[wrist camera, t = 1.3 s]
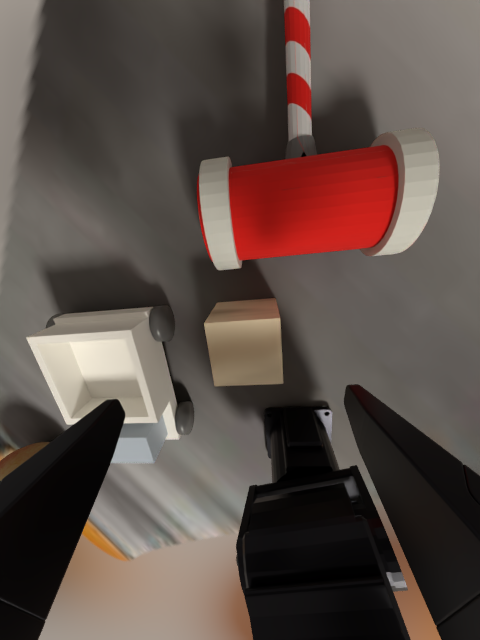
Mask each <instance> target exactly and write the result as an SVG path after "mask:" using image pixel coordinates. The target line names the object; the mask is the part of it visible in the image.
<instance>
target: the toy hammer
mask: <svg viewBox="0 0 480 640" xmlns="http://www.w3.org/2000/svg"><path fill="white" fill-rule="evenodd" d="M284 19H285V47H286V74H287V102H288V135H289V142H288V143H287V147H286V154H285V160H278V161H271V162H264V163H257V164H250V165H243V166H236V167H232V163H231V160H230V157H229V156H228V157H221V158H215V159H208V160H203V161H202V162H201V165H200V171H199V175H198V179H197V202H198V212H199V218H200V225H201V230H202V234H203V239H204V243H205V246H206V249H207V252H208V255H209V257H210V259H211V260H212V262H213V263H214V265H215V267H216V268H217V269H218V270H228V269H238V268H241V266H242V260H249V259H259V258H269V257H280V256H290V255H300V254H310V253H321V252H331V251H341V250H351V249H360V250H361V252H362V253H363V254H365V255H367V256H377V255H388V254H396V253H401V252H402V251H404V250H406V249H407V248H409V247H410V246H411V245H412V244H413V243H414V242H415V240H416V239H417V238H418V236H419V235H420V234H421V232H422V230H423V228H424V227H425V225H426V223H427V221H428V218H429V216H430V213H431V211H432V208H433V205H434V201H435V198H436V194H437V188H438V182H439V155H438V149H437V146H436V143H435V140H434V138H433V137H432V135H431V134H430V133H429V132H428V131H426V130H425V129H423V128H413V129H406V130H400V131H393V132H387V133H384V134H381V135H380V136H379V137H377V138H376V139H375V140H374V142H373V143H372V144H371V146H370V147H367V148H360V149H353V150H346V151H339V152H333V153H326V154H319V155H317V151H316V145H315V140H314V137H313V136H312V118H311V54H310V0H284Z"/></svg>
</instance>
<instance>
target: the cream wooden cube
mask: <svg viewBox="0 0 480 640" xmlns="http://www.w3.org/2000/svg"><path fill="white" fill-rule="evenodd" d="M204 327H205V333H206V339H207V344H208V350H209V356H210V362H211V368H212V374H213V379H214V385H215V386H238V385H266V384H283V366H282V345H281V324H280V315H279V311H278V306H277V302H276V298H268V299H256V300H243V301H231V302H218V303H217V304H216V305H215V307H214V308H213V310H212V311H211V313H210V315H209V316H208V318H207V319H206V321H205V322H204Z"/></svg>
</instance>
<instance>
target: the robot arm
mask: <svg viewBox="0 0 480 640" xmlns="http://www.w3.org/2000/svg"><path fill="white" fill-rule="evenodd" d="M344 405H345V409H346V412H347V415H348V418H349V421H350V425H351V428H352V431H353V434H354V437H355V440H356V443H357V446H358V449H359V451H360V454H361V456H362V458H363V461H364V463H365V465H366V467H367V470H368V472H369V474H370V477H371V479H372V481H373V483H374V486H375V488H376V490H377V493H378V495H379V497H380V499H381V502H382V504H383V506H384V509H385V511H386V513H387V515H388V518H389V520H390V522H391V524H392V527H393V529H394V531H395V534H396V536H397V538H398V541H399V543H400V545H401V547H402V550H403V552H404V554H405V557H406V559H407V561H408V563H409V566H410V568H411V570H412V573H413V575H414V577H415V580H416V582H417V584H418V586H419V589H420V591H421V593H422V596H423V598H424V600H425V602H426V605H427V607H428V609H429V611H430V614H431V616H432V618H433V621H434V623H435V625H436V626H437V630H438V632H439V635H440V637H441V639H442V640H480V476H479V475H478V474H477V473H475V472H474V471H473V470H471V469H470V468H469V467H467V466H466V465H463V464H462V462H461V461H459V460H458V459H457V458H455V457H454V456H453V455H451V454H450V453H449V452H447V451H446V450H445V449H443V448H442V447H441V446H440V445H438V444H437V443H436V442H434V441H433V440H432V439H430V438H429V437H428V436H426V435H425V434H424V433H422V432H421V431H420V430H418V429H417V428H416V427H414V426H413V425H412V424H410V423H409V422H408V421H406V420H405V419H404V418H402V417H401V416H400V415H398V414H397V413H396V412H394V411H393V410H392V409H391V408H389V407H388V406H387V405H385V404H384V403H383V402H381V401H380V400H379V399H377V398H376V397H375V396H373V395H372V394H371V393H369V392H368V391H367V390H365V389H364V388H363V387H361V386H360V385H358V384H354V385H347V386H346V390H345V397H344ZM325 412H327V413H325ZM268 413H271V414H268ZM264 416H265V427H266V438H267V450H268V457H269V458H271V464H272V483H269V484H264V485H259V486H257V485H252V486H250V487H249V492H248V496H247V500H246V504H245V508H244V513H243V517H242V522H241V526H240V530H239V535H238V539H237V544H236V549H237V557H236V559H237V565H238V569H239V576H240V582H241V586H242V590H243V593H244V595H245V600H246V604H247V608H248V612H249V616H250V622H251V628H252V634H253V640H410V637H409V634H408V632H407V629H406V626H405V623H404V620H403V618H402V615H401V613H400V609H399V607H398V604H397V601H396V599H395V596H394V593H393V591H406V590H408V589H407V586H406V583H405V580H404V577H403V574H402V572H401V569H400V566H399V564H398V561H397V558H396V556H395V554H394V551H393V548H392V546H391V543H390V541H389V538H388V536H387V533H386V531H385V529H384V526H383V524H382V522H381V519H380V517H379V514H378V512H377V510H376V507H375V505H374V503H373V501H372V498H371V496H370V494H369V492H368V490H367V487H366V485H365V483H364V481H363V478H362V476H361V474H360V472H359V469H358V467H357V465H355V466H350V468H347V469H342V470H340V469H339V466H338V463H337V460H336V457H335V454H334V451H333V448H332V445H331V432H332V411H331V409H330V408H329V407H296V408H267V409H266V410H265V412H264ZM124 420H125V411H124V409H123V407H122V405H121V403H120V401H119V400H118V399H108V400H105V401H104V402H103V403H101V404H100V405H99V406H97V407H96V408H95V409H93V410H92V411H91V412H89V413H88V414H87V415H86V416H84V417H83V418H82V419H80V420H79V421H78V422H76V423H75V424H74V425H72V426H71V427H70V428H68V429H67V430H66V431H64V432H63V433H62V434H61V435H59V436H58V437H57V438H55V439H54V440H53V441H51V442H50V443H49V444H47V445H46V446H45V447H43V448H42V449H41V450H39V451H38V452H37V453H35V454H34V455H33V456H32V457H30V458H29V459H28V460H26V461H25V462H24V463H22V464H21V465H20V466H18V467H17V468H16V469H14V470H13V471H12V472H10V473H9V474H8V475H7V476H5V477H4V478H3V479H2V481H0V640H38V638H39V636H40V634H41V631H42V629H43V627H44V624H45V620H46V619H47V616H48V614H49V611H50V609H51V606H52V604H53V602H54V599H55V597H56V594H57V592H58V590H59V587H60V584H61V582H62V580H63V577H64V575H65V573H66V570H67V568H68V565H69V563H70V560H71V558H72V555H73V553H74V550H75V548H76V546H77V543H78V541H79V539H80V536H81V534H82V531H83V529H84V526H85V524H86V522H87V519H88V517H89V514H90V512H91V509H92V507H93V505H94V502H95V500H96V497H97V495H98V492H99V490H100V488H101V485H102V483H103V480H104V478H105V475H106V473H107V471H108V468H109V466H110V463H111V461H112V458H113V455H114V452H115V449H116V446H117V443H118V440H119V436H120V433H121V430H122V427H123V423H124Z"/></svg>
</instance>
